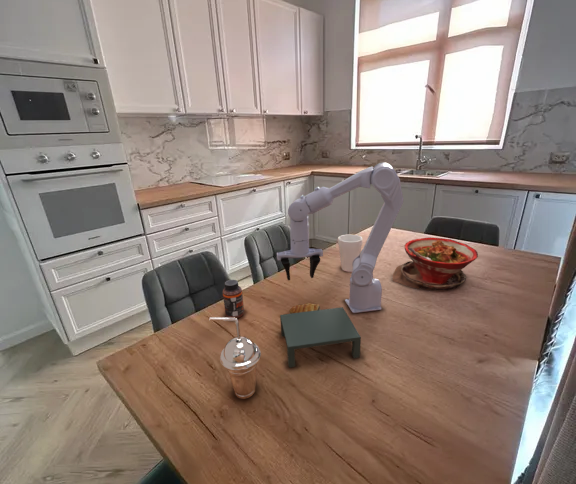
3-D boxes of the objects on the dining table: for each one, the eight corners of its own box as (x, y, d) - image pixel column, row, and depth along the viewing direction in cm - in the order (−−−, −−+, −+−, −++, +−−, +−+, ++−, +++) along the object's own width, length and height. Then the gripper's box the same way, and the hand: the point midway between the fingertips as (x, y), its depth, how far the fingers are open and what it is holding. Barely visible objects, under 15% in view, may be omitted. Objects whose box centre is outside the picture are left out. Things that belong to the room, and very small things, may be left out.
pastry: (287, 320, 94) (287, 309, 93) (292, 308, 100) (291, 298, 99) (318, 322, 92) (318, 311, 91) (321, 310, 98) (321, 300, 97)
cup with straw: (255, 410, 65) (246, 330, 57) (216, 401, 67) (202, 323, 59) (269, 380, 72) (263, 305, 64) (234, 373, 75) (223, 300, 67)
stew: (423, 303, 100) (429, 256, 94) (379, 273, 121) (382, 234, 115) (489, 286, 108) (499, 242, 102) (437, 261, 129) (442, 223, 123)
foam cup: (364, 266, 128) (366, 236, 123) (356, 275, 120) (357, 243, 115) (342, 262, 132) (343, 233, 127) (333, 270, 125) (334, 240, 120)
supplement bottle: (240, 320, 95) (236, 287, 91) (222, 318, 97) (217, 286, 92) (247, 309, 101) (243, 278, 96) (229, 308, 102) (225, 277, 98)
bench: (342, 325, 91) (342, 306, 88) (359, 357, 78) (361, 336, 75) (281, 333, 88) (280, 314, 86) (288, 367, 76) (287, 347, 73)
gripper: (319, 232, 101) (318, 270, 106) (274, 236, 99) (276, 274, 104) (325, 239, 94) (324, 279, 100) (277, 243, 92) (279, 284, 97)
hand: (300, 277), depth 101 cm, fingers open, 7 cm apart
